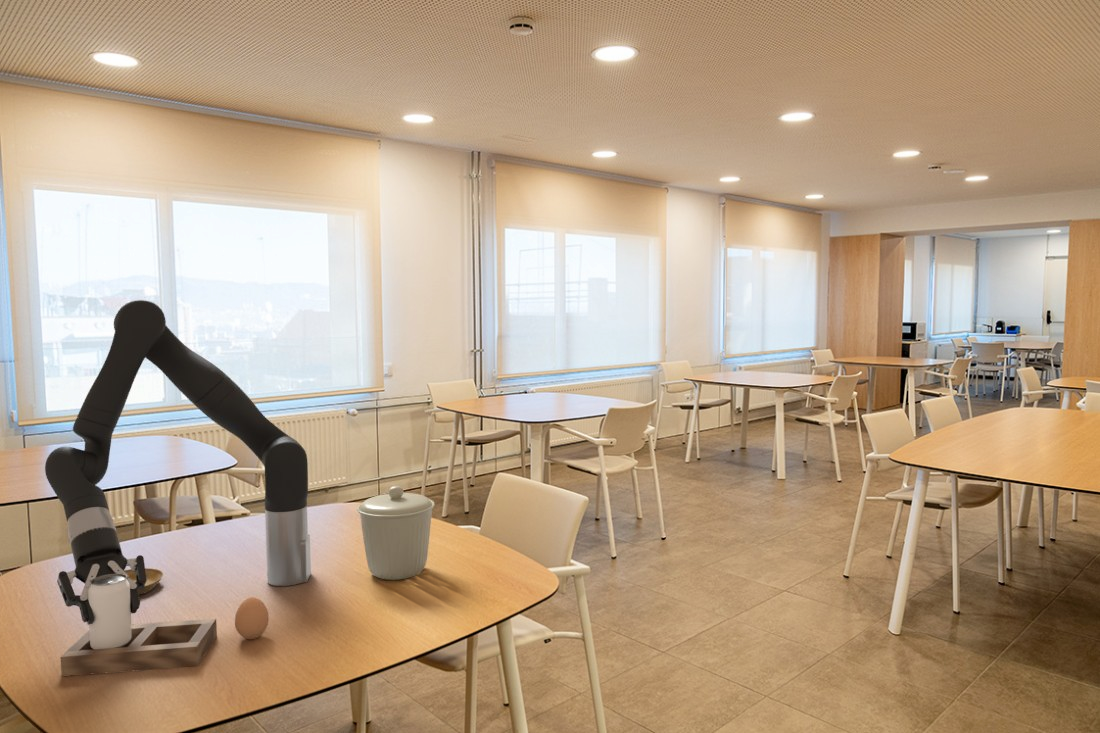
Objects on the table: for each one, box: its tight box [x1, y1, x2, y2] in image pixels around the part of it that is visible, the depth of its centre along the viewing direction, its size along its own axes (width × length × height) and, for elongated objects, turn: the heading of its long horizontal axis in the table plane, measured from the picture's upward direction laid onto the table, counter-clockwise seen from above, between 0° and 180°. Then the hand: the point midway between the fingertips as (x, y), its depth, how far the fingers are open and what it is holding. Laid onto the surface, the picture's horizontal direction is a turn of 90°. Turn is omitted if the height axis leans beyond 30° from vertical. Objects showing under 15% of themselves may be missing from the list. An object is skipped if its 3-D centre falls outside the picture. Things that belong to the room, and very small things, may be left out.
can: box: [88, 574, 132, 649], centre depth 132 cm, size 6×6×12 cm
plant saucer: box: [124, 567, 164, 596], centre depth 165 cm, size 15×15×3 cm
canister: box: [356, 485, 436, 581], centre depth 174 cm, size 18×18×21 cm
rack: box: [59, 618, 218, 677], centre depth 133 cm, size 22×12×4 cm, turn 99°
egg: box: [234, 596, 270, 640], centre depth 140 cm, size 6×6×8 cm
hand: (113, 616), depth 131 cm, fingers closed on can, 6 cm apart
